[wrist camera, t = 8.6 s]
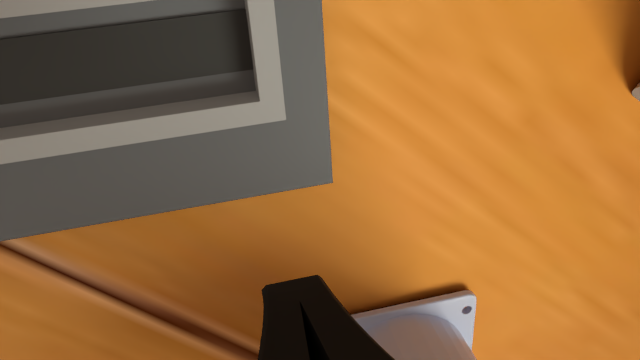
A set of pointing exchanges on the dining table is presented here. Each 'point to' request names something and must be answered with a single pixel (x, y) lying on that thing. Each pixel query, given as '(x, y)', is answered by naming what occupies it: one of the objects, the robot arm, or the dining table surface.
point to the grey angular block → (636, 92)
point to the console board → (156, 107)
